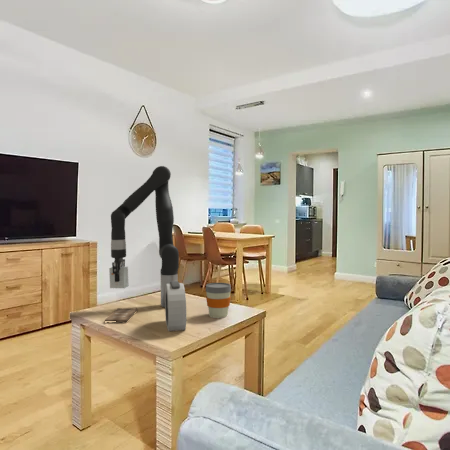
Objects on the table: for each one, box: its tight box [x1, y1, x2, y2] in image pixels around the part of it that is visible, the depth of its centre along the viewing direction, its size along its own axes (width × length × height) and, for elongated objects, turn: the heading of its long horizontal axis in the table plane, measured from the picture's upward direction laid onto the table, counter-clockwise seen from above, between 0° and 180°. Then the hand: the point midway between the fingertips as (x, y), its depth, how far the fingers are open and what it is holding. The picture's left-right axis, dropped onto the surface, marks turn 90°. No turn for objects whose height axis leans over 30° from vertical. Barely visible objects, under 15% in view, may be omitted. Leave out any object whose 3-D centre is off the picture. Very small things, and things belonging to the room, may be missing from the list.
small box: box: [108, 266, 129, 289], centre depth 186 cm, size 8×6×10 cm
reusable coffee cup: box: [205, 282, 232, 319], centre depth 175 cm, size 13×13×15 cm
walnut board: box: [104, 307, 138, 323], centre depth 174 cm, size 10×20×2 cm, turn 0°
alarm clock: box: [164, 281, 187, 332], centre depth 159 cm, size 21×8×20 cm, turn 13°
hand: (119, 280), depth 186 cm, fingers closed on small box, 6 cm apart
